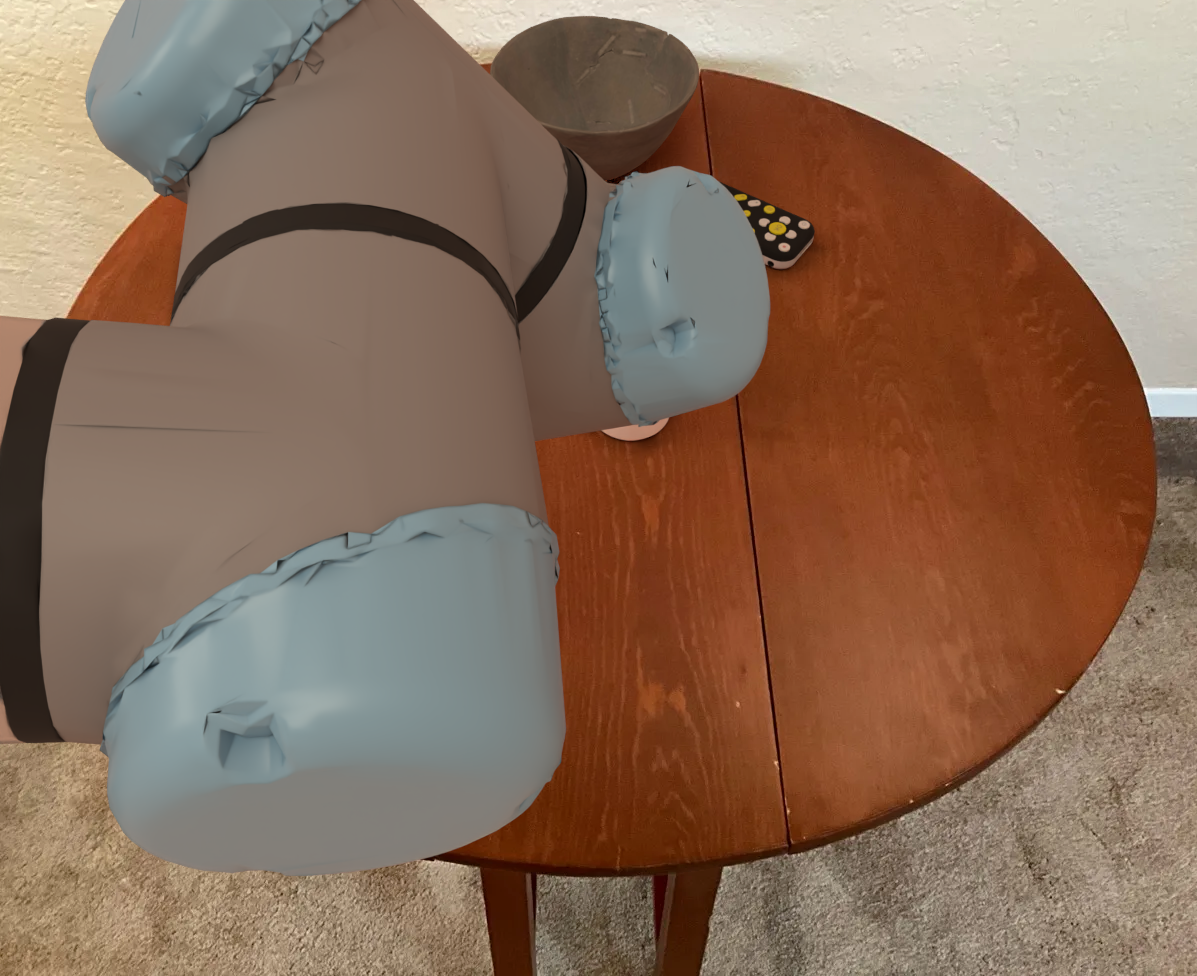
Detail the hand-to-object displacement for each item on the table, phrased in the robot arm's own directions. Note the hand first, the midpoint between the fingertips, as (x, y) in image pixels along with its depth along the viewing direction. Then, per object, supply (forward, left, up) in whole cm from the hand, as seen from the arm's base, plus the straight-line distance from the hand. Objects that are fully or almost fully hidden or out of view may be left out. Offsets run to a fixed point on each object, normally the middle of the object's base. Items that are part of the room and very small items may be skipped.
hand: (150, 446), depth 52 cm
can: (+29, +13, -18) cm, 37 cm away
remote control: (+43, +33, -18) cm, 57 cm away
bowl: (+31, +45, -18) cm, 58 cm away
